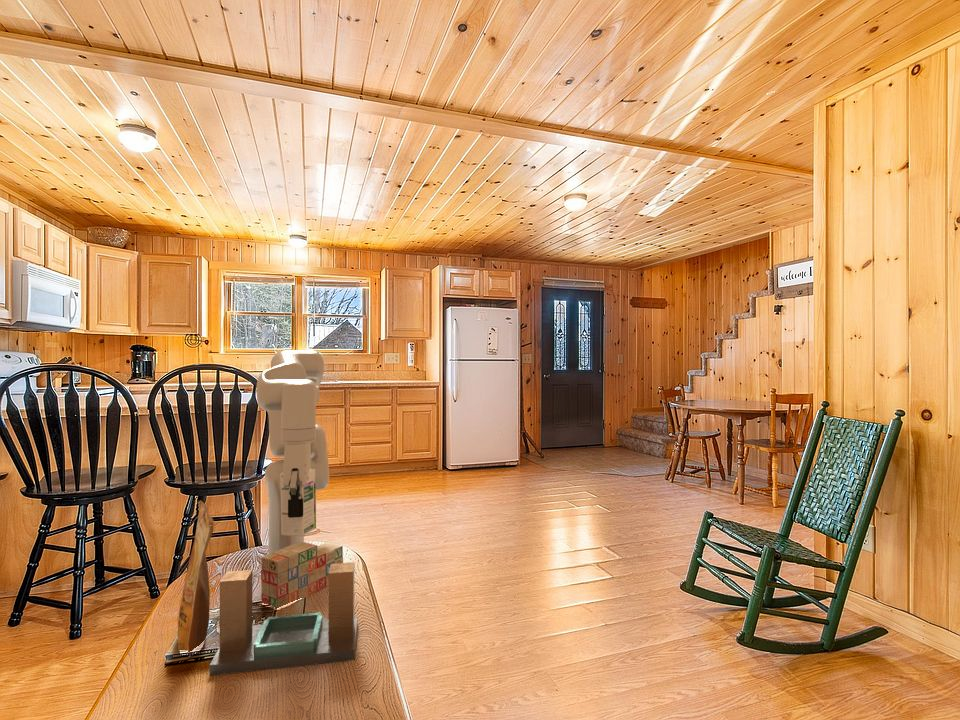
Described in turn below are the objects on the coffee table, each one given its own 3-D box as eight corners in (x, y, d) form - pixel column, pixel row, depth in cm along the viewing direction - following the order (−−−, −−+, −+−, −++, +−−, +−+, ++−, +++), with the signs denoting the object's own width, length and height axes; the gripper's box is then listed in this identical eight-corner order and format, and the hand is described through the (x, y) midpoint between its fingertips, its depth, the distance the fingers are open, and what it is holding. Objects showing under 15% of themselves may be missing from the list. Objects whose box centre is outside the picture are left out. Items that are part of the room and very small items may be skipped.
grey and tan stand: (230, 636, 111) (230, 563, 111) (357, 624, 116) (357, 554, 116) (209, 675, 97) (209, 592, 97) (354, 659, 102) (354, 580, 102)
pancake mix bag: (214, 614, 120) (214, 496, 120) (213, 656, 103) (213, 519, 103) (181, 621, 117) (181, 500, 117) (174, 665, 100) (175, 524, 100)
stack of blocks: (327, 574, 144) (327, 530, 144) (343, 579, 140) (343, 534, 140) (260, 605, 125) (260, 555, 125) (277, 612, 122) (277, 560, 122)
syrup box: (303, 537, 114) (303, 472, 114) (279, 535, 115) (279, 471, 115) (316, 528, 120) (316, 467, 120) (293, 527, 121) (293, 466, 121)
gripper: (288, 430, 125) (288, 501, 125) (273, 441, 108) (273, 524, 108) (319, 429, 127) (319, 500, 127) (310, 440, 110) (310, 522, 110)
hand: (298, 511), depth 118 cm, fingers closed on syrup box, 7 cm apart
